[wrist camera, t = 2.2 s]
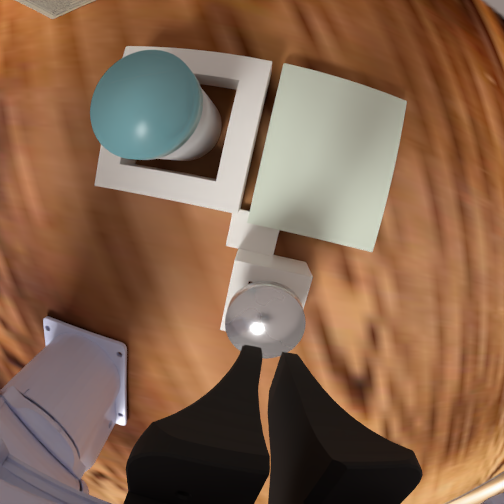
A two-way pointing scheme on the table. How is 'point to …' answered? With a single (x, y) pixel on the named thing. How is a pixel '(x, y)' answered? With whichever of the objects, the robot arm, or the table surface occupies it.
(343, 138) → the pad
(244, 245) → the holder
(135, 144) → the cartridge
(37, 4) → the skincare box
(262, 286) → the plunger
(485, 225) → the table surface
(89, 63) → the table surface
